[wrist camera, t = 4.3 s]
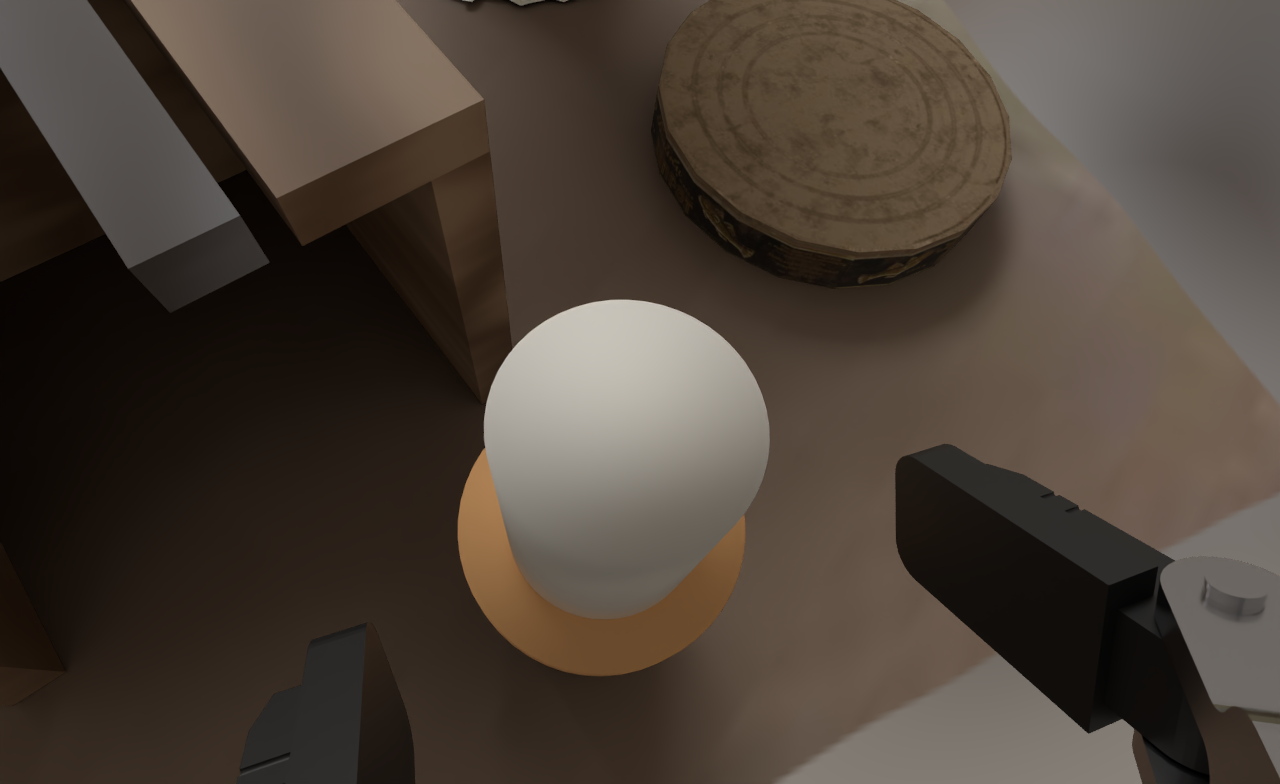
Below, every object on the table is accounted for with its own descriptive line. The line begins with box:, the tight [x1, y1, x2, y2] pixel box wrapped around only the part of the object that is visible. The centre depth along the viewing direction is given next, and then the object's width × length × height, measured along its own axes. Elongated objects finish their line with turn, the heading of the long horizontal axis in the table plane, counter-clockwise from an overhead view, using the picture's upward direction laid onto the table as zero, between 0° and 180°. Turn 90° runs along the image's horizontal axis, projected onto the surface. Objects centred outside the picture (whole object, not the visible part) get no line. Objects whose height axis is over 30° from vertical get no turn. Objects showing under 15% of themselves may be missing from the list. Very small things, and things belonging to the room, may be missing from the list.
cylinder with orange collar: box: [458, 300, 770, 676], centre depth 17 cm, size 6×6×16 cm
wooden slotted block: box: [0, 0, 512, 706], centre depth 20 cm, size 18×16×14 cm
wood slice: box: [651, 0, 1012, 289], centre depth 33 cm, size 16×16×3 cm
